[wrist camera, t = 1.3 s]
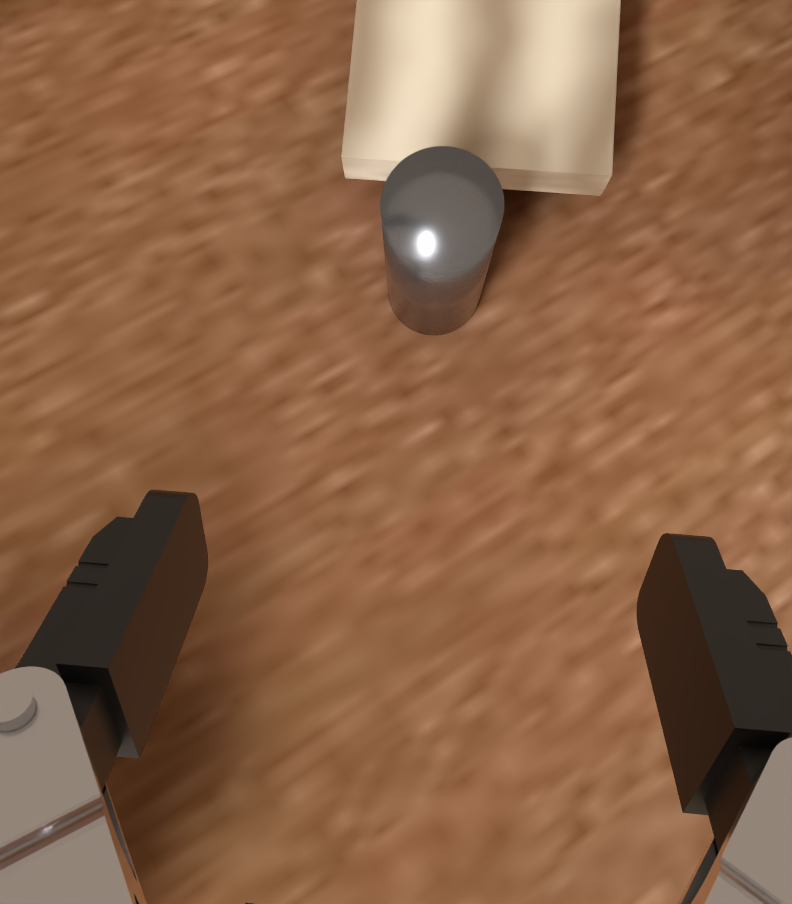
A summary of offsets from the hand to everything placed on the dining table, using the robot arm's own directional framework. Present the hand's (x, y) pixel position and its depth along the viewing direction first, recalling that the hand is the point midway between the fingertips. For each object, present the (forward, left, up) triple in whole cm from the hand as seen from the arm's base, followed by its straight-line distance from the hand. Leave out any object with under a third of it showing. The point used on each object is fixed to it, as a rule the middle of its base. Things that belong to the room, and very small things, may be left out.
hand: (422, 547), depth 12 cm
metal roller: (0, +14, -25) cm, 28 cm away
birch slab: (+1, +27, -25) cm, 37 cm away
